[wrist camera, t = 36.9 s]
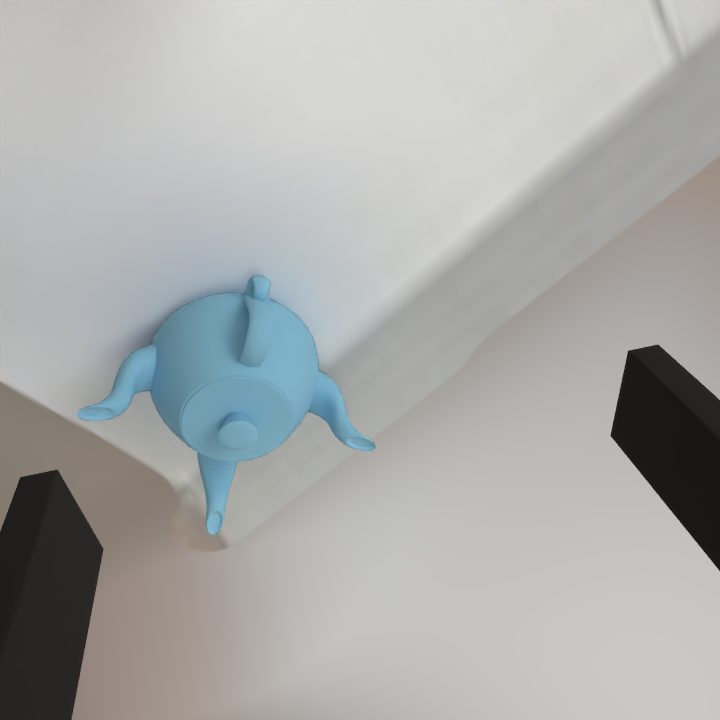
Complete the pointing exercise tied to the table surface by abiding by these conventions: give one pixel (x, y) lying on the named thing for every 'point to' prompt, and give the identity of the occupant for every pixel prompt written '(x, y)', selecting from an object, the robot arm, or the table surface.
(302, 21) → the table surface
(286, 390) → the teapot
